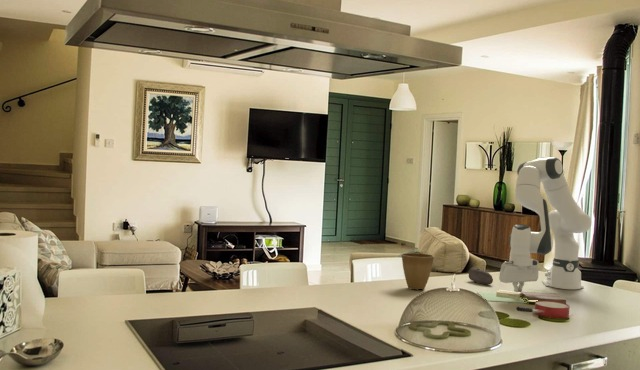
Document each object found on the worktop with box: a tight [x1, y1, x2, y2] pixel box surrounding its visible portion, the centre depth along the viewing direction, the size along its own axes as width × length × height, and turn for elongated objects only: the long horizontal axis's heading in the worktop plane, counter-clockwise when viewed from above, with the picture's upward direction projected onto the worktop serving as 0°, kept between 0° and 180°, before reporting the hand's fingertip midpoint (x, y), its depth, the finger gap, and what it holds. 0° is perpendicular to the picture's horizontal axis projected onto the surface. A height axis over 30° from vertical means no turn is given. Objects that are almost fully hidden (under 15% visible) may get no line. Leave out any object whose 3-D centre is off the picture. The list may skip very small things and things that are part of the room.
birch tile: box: [495, 289, 521, 299], centre depth 282 cm, size 6×10×2 cm, turn 65°
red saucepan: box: [515, 301, 571, 319], centre depth 242 cm, size 32×13×6 cm, turn 137°
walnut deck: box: [521, 291, 567, 304], centre depth 278 cm, size 14×16×2 cm
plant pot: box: [401, 252, 435, 290], centre depth 290 cm, size 15×15×16 cm
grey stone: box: [468, 267, 494, 286], centre depth 313 cm, size 15×5×7 cm, turn 28°
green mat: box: [476, 291, 528, 304], centre depth 278 cm, size 18×18×1 cm
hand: (517, 291), depth 278 cm, fingers closed
